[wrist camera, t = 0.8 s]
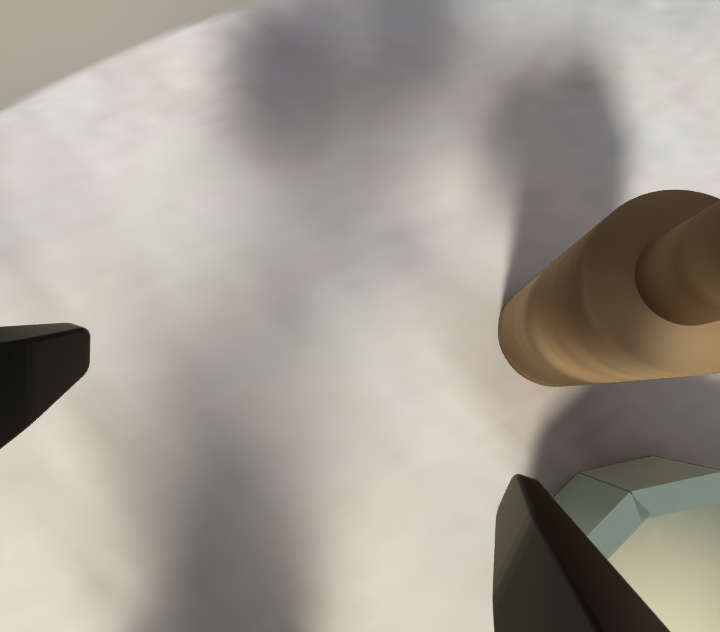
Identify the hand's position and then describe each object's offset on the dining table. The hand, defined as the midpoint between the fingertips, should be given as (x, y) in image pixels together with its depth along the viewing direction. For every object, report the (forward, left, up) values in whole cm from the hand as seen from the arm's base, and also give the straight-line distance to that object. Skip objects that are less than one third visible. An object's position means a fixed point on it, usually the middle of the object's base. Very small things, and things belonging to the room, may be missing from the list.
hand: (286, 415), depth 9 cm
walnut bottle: (+1, -11, -13) cm, 17 cm away
